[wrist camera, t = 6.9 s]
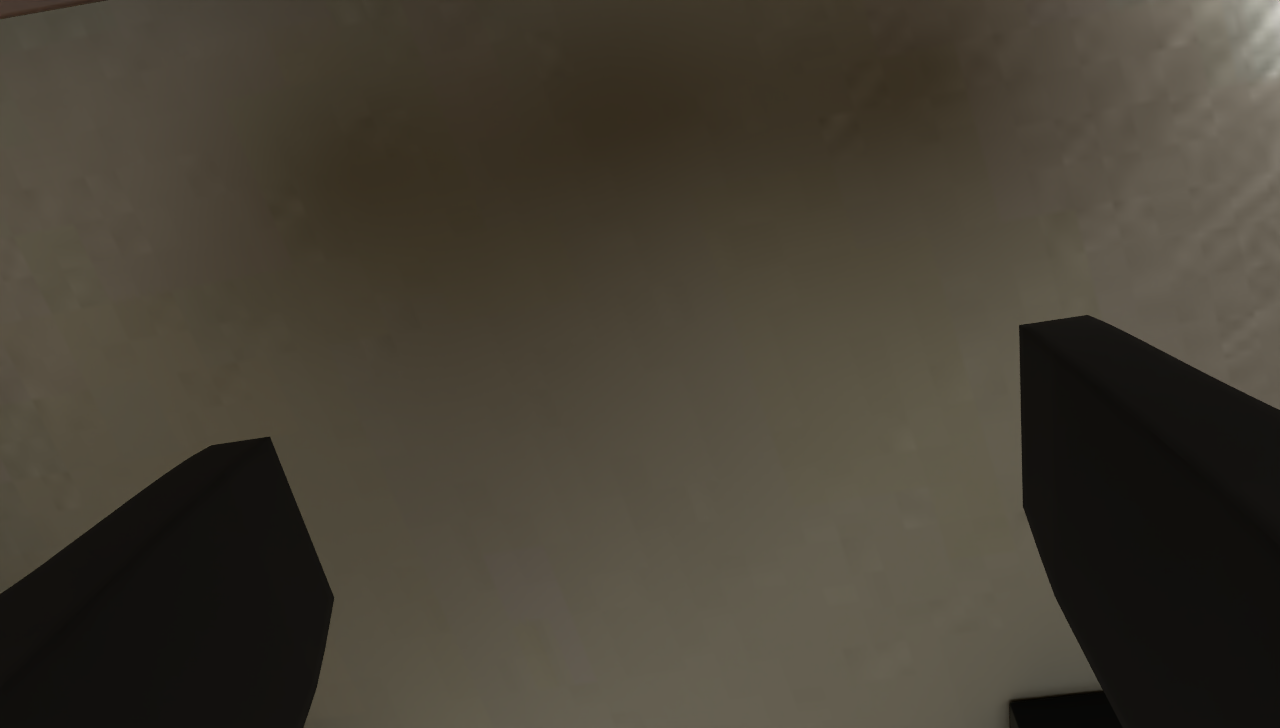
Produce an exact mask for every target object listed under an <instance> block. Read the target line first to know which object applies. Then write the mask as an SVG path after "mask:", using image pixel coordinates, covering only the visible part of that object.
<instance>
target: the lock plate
mask: <svg viewBox="0 0 1280 728" xmlns="http://www.w3.org/2000/svg"><path fill="white" fill-rule="evenodd" d="M100 1H106V0H0V19H4V18H10V17H15V16H21V15H27V14H32V13H38V12H44V11H49V10H55V9H60V8H66V7H72V6H77V5H83V4H89V3H94V2H100Z"/></svg>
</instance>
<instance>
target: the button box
mask: <svg viewBox="0 0 1280 728" xmlns="http://www.w3.org/2000/svg"><path fill="white" fill-rule="evenodd" d="M1010 728H1123V727H1122V725H1121V723H1120V721H1119V720H1118V718H1117V716H1116V714H1115V712H1114V710H1113V708H1112V706H1111V704H1110V702H1109V700H1108V698H1107V697H1106V695H1105V693H1104V692H1103V693H1093V694H1084V695H1075V696H1065V697H1056V698H1047V699H1037V700H1028V701H1018V702H1012V703H1010Z"/></svg>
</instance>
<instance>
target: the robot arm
mask: <svg viewBox="0 0 1280 728" xmlns="http://www.w3.org/2000/svg"><path fill="white" fill-rule="evenodd" d="M1019 336H1020V385H1021V434H1022V483H1023V508H1024V511H1025V513H1026V516H1027V519H1028V522H1029V525H1030V528H1031V531H1032V534H1033V537H1034V540H1035V543H1036V546H1037V548H1038V551H1039V554H1040V557H1041V560H1042V563H1043V565H1044V568H1045V571H1046V573H1047V576H1048V579H1049V582H1050V584H1051V587H1052V590H1053V592H1054V595H1055V597H1056V599H1057V601H1058V603H1059V605H1060V607H1061V609H1062V611H1063V613H1064V615H1065V617H1066V619H1067V621H1068V623H1069V625H1070V627H1071V629H1072V631H1073V633H1074V635H1075V637H1076V639H1077V641H1078V643H1079V645H1080V647H1081V648H1082V650H1083V652H1084V654H1085V656H1086V658H1087V660H1088V662H1089V664H1090V666H1091V668H1092V670H1093V672H1094V674H1095V676H1096V677H1097V679H1098V681H1099V683H1100V685H1101V687H1102V689H1103V691H1104V693H1105V695H1106V697H1107V698H1108V700H1109V702H1110V704H1111V706H1112V708H1113V710H1114V712H1115V714H1116V716H1117V718H1118V720H1119V721H1120V723H1121V725H1122V727H1123V728H1280V410H1279V409H1276V408H1274V407H1272V406H1270V405H1268V404H1266V403H1264V402H1262V401H1260V400H1258V399H1256V398H1253V397H1251V396H1249V395H1247V394H1245V393H1243V392H1241V391H1239V390H1237V389H1235V388H1233V387H1231V386H1229V385H1227V384H1225V383H1223V382H1221V381H1219V380H1217V379H1215V378H1213V377H1211V376H1209V375H1207V374H1205V373H1203V372H1202V371H1200V370H1198V369H1196V368H1194V367H1192V366H1190V365H1188V364H1186V363H1184V362H1182V361H1180V360H1178V359H1176V358H1174V357H1173V356H1171V355H1169V354H1167V353H1165V352H1163V351H1161V350H1159V349H1157V348H1155V347H1153V346H1151V345H1149V344H1148V343H1146V342H1144V341H1142V340H1140V339H1138V338H1136V337H1134V336H1132V335H1130V334H1128V333H1126V332H1124V331H1122V330H1120V329H1118V328H1116V327H1114V326H1112V325H1110V324H1108V323H1105V322H1103V321H1101V320H1099V319H1096V318H1094V317H1091V316H1089V315H1085V316H1078V317H1071V318H1065V319H1058V320H1051V321H1044V322H1038V323H1031V324H1024V325H1019ZM333 602H334V596H333V593H332V591H331V588H330V586H329V583H328V581H327V578H326V576H325V573H324V571H323V568H322V566H321V563H320V561H319V558H318V556H317V553H316V551H315V548H314V546H313V543H312V541H311V538H310V536H309V533H308V531H307V528H306V526H305V523H304V521H303V518H302V516H301V513H300V511H299V508H298V506H297V503H296V501H295V498H294V496H293V493H292V491H291V488H290V486H289V483H288V481H287V478H286V476H285V473H284V471H283V468H282V466H281V463H280V461H279V458H278V456H277V453H276V451H275V448H274V446H273V443H272V441H271V438H270V437H264V438H258V439H251V440H244V441H238V442H231V443H224V444H217V445H211V446H209V447H208V448H206V449H204V450H202V451H200V452H199V453H197V454H195V455H193V456H192V457H190V458H189V459H187V460H185V461H184V462H182V463H181V464H179V465H178V466H176V467H175V468H173V469H172V470H170V471H169V472H168V473H166V474H165V475H163V476H162V477H160V478H159V479H158V480H156V481H155V482H153V483H152V484H151V485H149V486H148V487H146V488H145V489H144V490H142V491H141V492H140V493H138V494H137V495H135V496H134V497H133V498H131V499H130V500H129V501H127V502H126V503H125V504H123V505H122V506H121V507H119V508H118V509H117V510H115V511H114V512H113V513H111V514H110V515H108V516H107V517H106V518H104V519H103V520H102V521H100V522H99V523H98V524H96V525H95V526H94V527H92V528H91V529H90V530H88V531H87V532H86V533H84V534H83V535H82V536H80V537H79V538H78V539H76V540H75V541H74V542H72V543H71V544H70V545H68V546H67V547H65V548H64V549H63V550H61V551H60V552H59V553H57V554H56V555H55V556H53V557H52V558H51V559H49V560H48V561H47V562H45V563H44V564H43V565H41V566H40V567H38V568H37V569H36V570H34V571H33V572H32V573H30V574H29V575H27V576H26V577H24V578H23V579H22V580H20V581H19V582H17V583H16V584H14V585H13V586H12V587H10V588H9V589H7V590H6V591H4V592H3V593H2V594H0V728H303V727H304V724H305V721H306V718H307V715H308V712H309V709H310V706H311V703H312V700H313V697H314V694H315V691H316V688H317V684H318V679H319V674H320V670H321V665H322V661H323V656H324V651H325V647H326V641H327V635H328V630H329V624H330V618H331V613H332V607H333Z"/></svg>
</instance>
